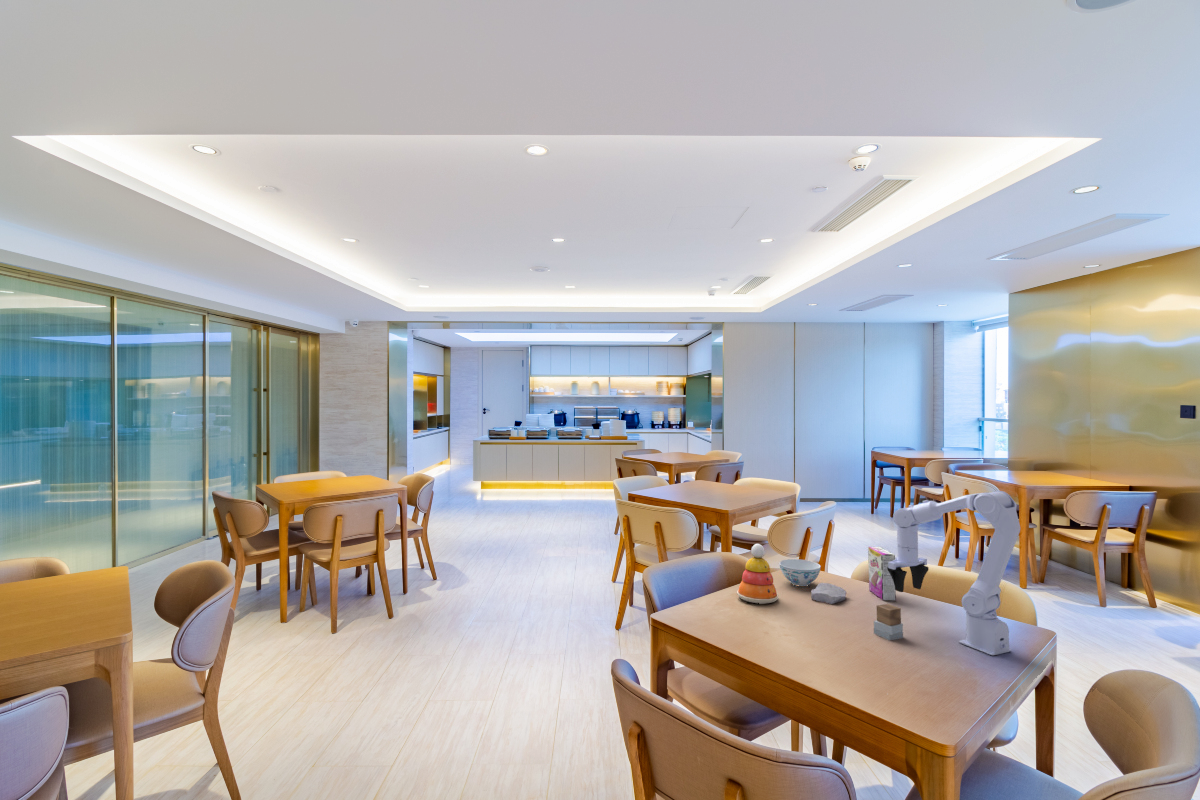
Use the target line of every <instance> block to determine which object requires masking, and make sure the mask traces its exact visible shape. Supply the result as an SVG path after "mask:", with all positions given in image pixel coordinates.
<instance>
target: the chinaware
mask: <svg viewBox="0 0 1200 800" xmlns="http://www.w3.org/2000/svg"><path fill="white" fill-rule="evenodd" d="M778 564H779V567H780V570H781V573H782V574H783V577H784V578H786V580H787V581H790V584H791V583H792V584H794V585H799V586H807V585H809V586H810V584H812V583H813V582H815V580H816V579H817V578H818V576H819V574H820V571H821V567H822V566H821V565H820V564H819V563H817V562H815V561H811V560H807V559H798V558H796V559H794V558H791V559H790V558H789V559H783V560H781V561H779V563H778ZM792 584H791V585H792ZM794 585H793V586H794Z"/></svg>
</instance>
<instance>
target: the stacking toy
mask: <svg viewBox="0 0 1200 800" xmlns="http://www.w3.org/2000/svg"><path fill="white" fill-rule="evenodd" d="M750 551H751V552H750V553H751V555H752V557H751V558H749V559H748V560H747V561H746V563H745V570H744V571H743V573H742V575H741V576H742V577H741V582H740V584H739V586H738V589H737V591H736V594H737V596H738V597H739V599H742V600H743V601H745V602H749V603H755V604H758V603H759V605H764V604H770V603H771V604H772V603H774V602H776V601H777V600H778V599H779V593H778V592H777V588H776V586H775V584H774V578H773V575H772V573H771V566H770V564H769V562H768V561H767V560H766V559H765V558H764V556H765V555H766V551H765V548H764V546H763V545H762V544H760V543H755V544H753V546H751V550H750Z"/></svg>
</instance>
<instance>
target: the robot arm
mask: <svg viewBox="0 0 1200 800" xmlns="http://www.w3.org/2000/svg"><path fill="white" fill-rule="evenodd" d="M1017 505H1018V504H1017V503H1016V501H1015V500H1014V499H1013V498H1012V496H1011V495H1010V493H1009V494H1008V492H1006V491H1004V490H993V491H991V492H980V493H979V492H978V493H972V494H965V495H962V496H959V497H955V498H953V499H948V500H945V501H942V502H937V501H936V500H929V499H926V500H922V503H918V504H915V505H914V504H909V505H908V507H904V508H902V507H901V508H898V509H897V510H895V511H894V513H893V515H892V517H893V518H892V519H893V522H894V523H895V525H896V541H897V542H896V544H897V546H896V547H897V548H896V549H897V550H896V551H897V552H896V553H897V556H895V560H893V561H891V562H888V567H887V570H888V571H889V573H890V575H891V577H892V579H893V582H894V585H895V589H896V592H899V593H904V589H905V579H906V575H907V573H908V571H906V570H903V568H909V569H910V574H911V580H912V581H911V582H912V586H913V589H917V590H921V589H922V586H923V582H924V578H925V577H926V574H927V573H928V571H929V570H930V569H929V567H928V566H927V565H928V558H926V557H919V540H918V539H919V535H918V533H919V525H921V524H926V523H929V522H934V521H938V520H941V519H942V517H943V515H944V514H946V513H950V512H951V513H952V512H955V511H960V510H963V509H968V510H970V511H972V512H973V511H974V512H975V511H977V513H979V515H981V516H982V517H983V518H985V519H986V520H987V522H989V524H990V525H991V526H992V527H993V529H994V532H993V535H992V537H991V541H990V542H989V545H988V548H987V551H986V553H985V556H984V558H983V562H982V565H981V567H980V570H979V573H978V575H977V578H976V580H975V581H974V582H973V584H971V586H970V588H969V589H968V592H966V593H965V594H963V596H962V598H961V606H962V608H963V609H964V610H965V620H966V621H965V622H966V623H965V625H966V629H965V631H966V634H965V635H966V636H965V637H966V638H965V639H961V640H960V639H959V641H958V642H959V643H960V644H963V645H964V646H967V647H969V648H972V649H975V650H977V651H980V652H982V653H984V654H986V655H987V654H988V655H990V656H997V655H1002V654H1004V653H1009V652H1011V651H1012V649H1011V648H1010V634H1009V633H1010V629H1009V625H1008V624H1007V623H1006V622H1005V621H1003V620H1001V619H1000V618H998V615H997V614H998V613H997V610H999V608H1000V606H1001V602H1002V601H1001V596H1000V595H1001V592H1002V589H1001V587H1000V585H1001V582H1002V579H1003V577H1004V573H1005V571H1006V569H1007V567H1008V564H1009V561H1010V558H1011V557H1012V553H1013V551H1014V548H1015V545H1016V542H1017V540H1018V538H1019V534H1020V533H1021V525H1020V520H1019V516H1018V513H1017Z"/></svg>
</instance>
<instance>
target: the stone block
mask: <svg viewBox="0 0 1200 800" xmlns="http://www.w3.org/2000/svg"><path fill="white" fill-rule="evenodd" d="M810 594H811V595H810V598H811V600H812V599H813V600H816V601H815V602H818V601H821V602H820V603H824V602H826V604H828V603H829V605H834V604H836V603H839V602H842V601H845V600H846V596H847V592H846V589H844V588H843V587H840V586H838V585H836V584H832V583H827V582H826V583H825V582H820V583H818V585H816V587H815V588H813V589H811V591H810ZM813 600H812V601H813Z"/></svg>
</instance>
